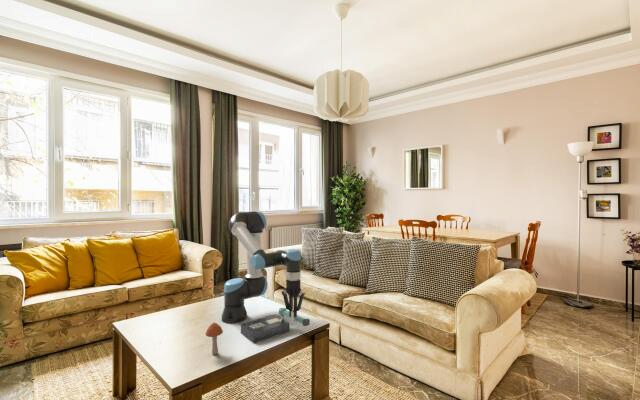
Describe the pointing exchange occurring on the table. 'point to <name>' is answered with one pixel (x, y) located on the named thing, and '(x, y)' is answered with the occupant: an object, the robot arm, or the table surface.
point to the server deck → (265, 328)
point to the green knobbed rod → (298, 318)
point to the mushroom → (214, 335)
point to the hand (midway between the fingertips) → (293, 322)
